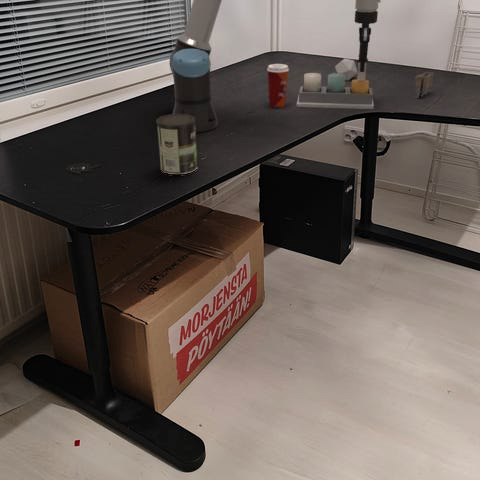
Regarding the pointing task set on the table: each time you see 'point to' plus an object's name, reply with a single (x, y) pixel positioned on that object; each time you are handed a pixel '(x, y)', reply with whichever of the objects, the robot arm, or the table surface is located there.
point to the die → (346, 68)
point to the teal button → (336, 83)
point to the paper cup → (277, 84)
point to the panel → (335, 99)
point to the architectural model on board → (422, 83)
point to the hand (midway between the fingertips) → (361, 80)
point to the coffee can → (177, 143)
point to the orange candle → (360, 87)
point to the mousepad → (81, 168)
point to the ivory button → (312, 82)
